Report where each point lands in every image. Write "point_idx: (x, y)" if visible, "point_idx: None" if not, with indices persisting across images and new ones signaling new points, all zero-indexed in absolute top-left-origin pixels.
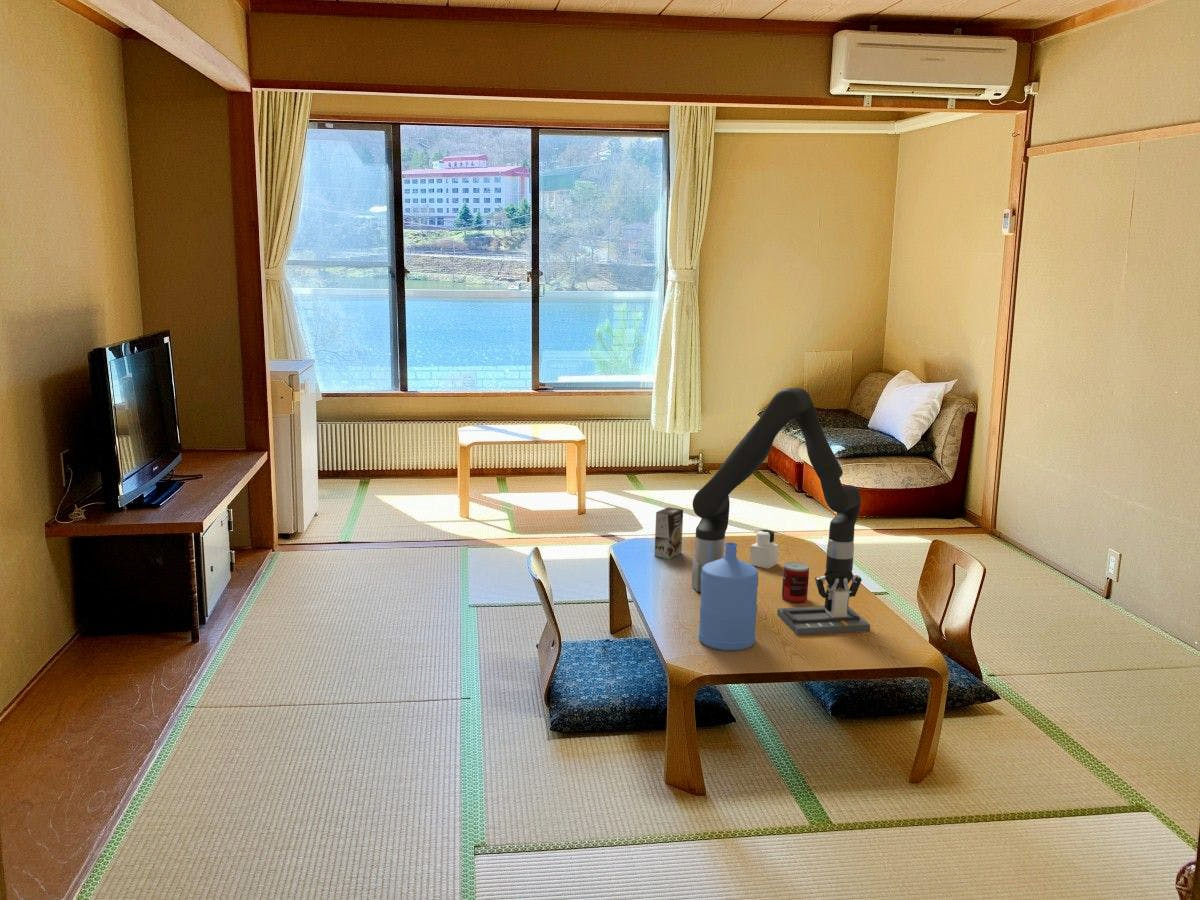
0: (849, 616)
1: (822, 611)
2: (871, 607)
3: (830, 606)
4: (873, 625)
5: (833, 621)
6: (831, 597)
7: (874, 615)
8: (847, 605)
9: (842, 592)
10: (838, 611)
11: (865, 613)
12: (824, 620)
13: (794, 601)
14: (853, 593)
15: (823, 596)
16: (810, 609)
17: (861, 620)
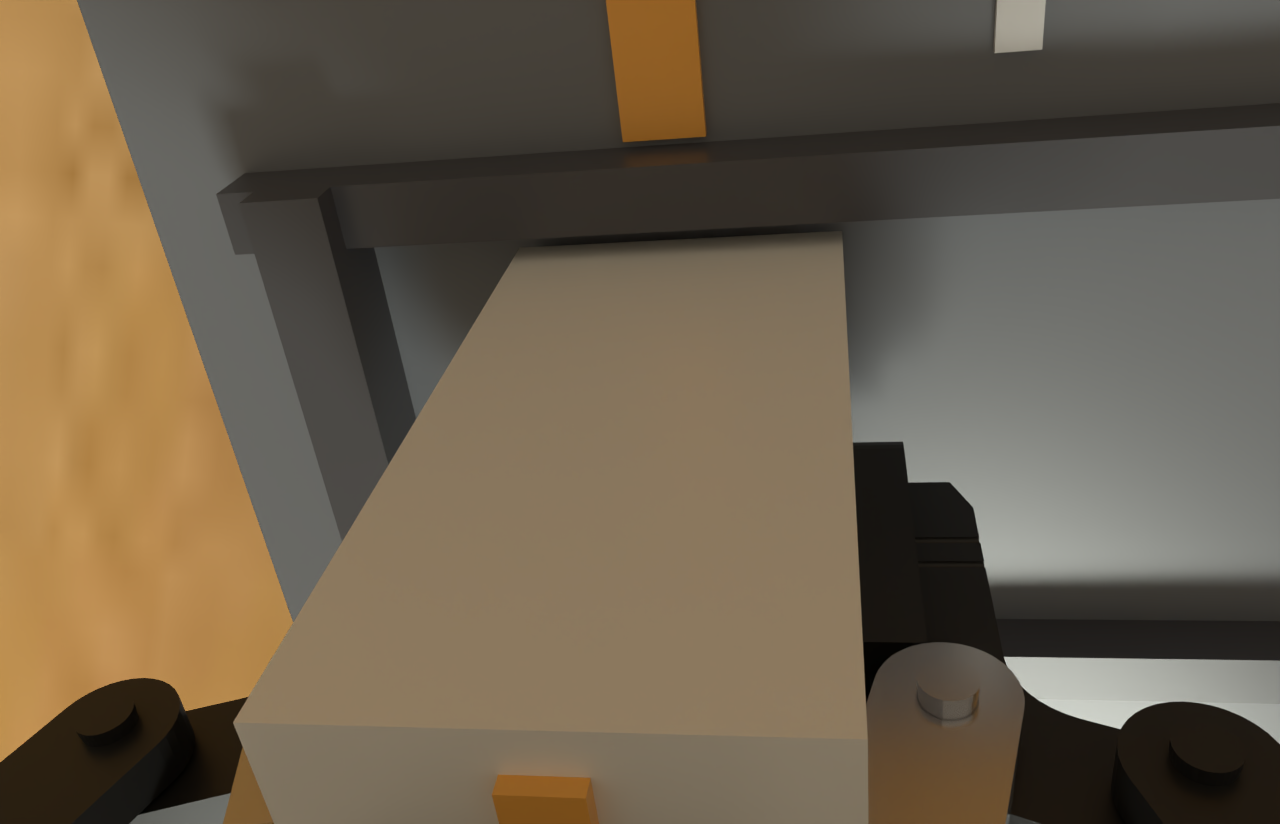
0: (424, 371)
1: None
2: None
3: (884, 509)
4: (33, 161)
5: (884, 120)
6: (890, 700)
7: (5, 551)
8: None
9: (506, 722)
10: (713, 314)
11: (131, 628)
12: (1144, 120)
13: None
14: (96, 758)
15: (1237, 745)
16: (1164, 687)
17: (207, 134)
